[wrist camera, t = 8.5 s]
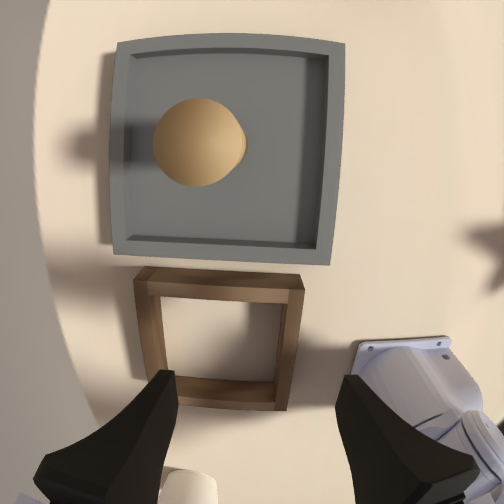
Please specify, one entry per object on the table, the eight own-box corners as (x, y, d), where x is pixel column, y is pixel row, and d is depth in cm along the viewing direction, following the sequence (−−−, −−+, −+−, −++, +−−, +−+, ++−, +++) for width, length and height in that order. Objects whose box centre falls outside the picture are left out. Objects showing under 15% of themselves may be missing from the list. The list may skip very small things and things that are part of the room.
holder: (299, 274, 22) (304, 289, 19) (284, 390, 25) (286, 411, 23) (145, 266, 22) (133, 279, 19) (159, 381, 25) (151, 400, 23)
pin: (248, 121, 18) (244, 98, 9) (246, 169, 19) (239, 187, 10) (199, 120, 18) (154, 100, 9) (197, 168, 19) (152, 186, 10)
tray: (337, 52, 17) (345, 43, 15) (323, 255, 21) (329, 265, 19) (128, 50, 17) (117, 42, 15) (124, 245, 21) (113, 254, 19)
